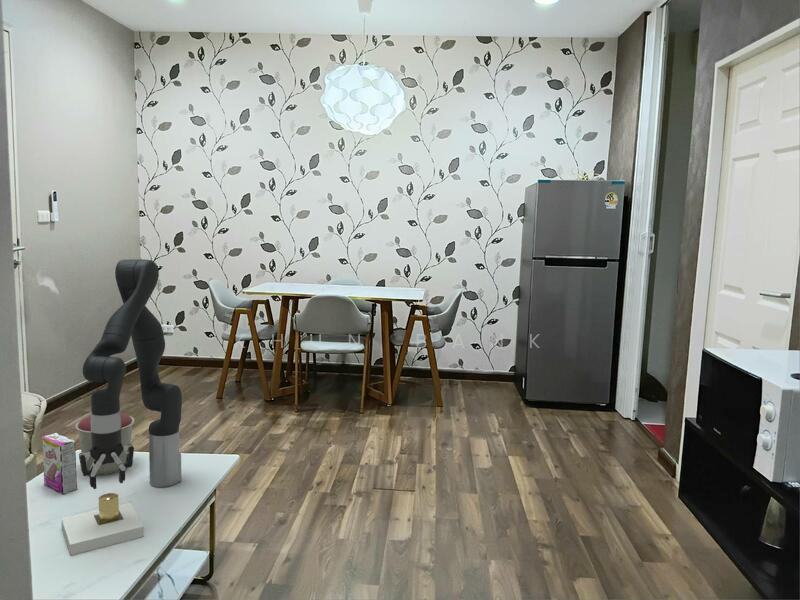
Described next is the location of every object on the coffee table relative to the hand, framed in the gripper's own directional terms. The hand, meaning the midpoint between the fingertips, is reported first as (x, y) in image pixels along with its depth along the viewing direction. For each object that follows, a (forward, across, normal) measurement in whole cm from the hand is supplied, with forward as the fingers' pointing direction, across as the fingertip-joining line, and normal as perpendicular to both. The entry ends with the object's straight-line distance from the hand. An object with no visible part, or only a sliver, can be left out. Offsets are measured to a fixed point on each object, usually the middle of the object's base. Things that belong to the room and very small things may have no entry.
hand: (107, 484), depth 171 cm
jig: (+13, +2, +2) cm, 13 cm away
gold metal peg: (+13, 0, 0) cm, 13 cm away
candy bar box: (+13, +8, -34) cm, 37 cm away
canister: (+13, -7, -42) cm, 44 cm away
